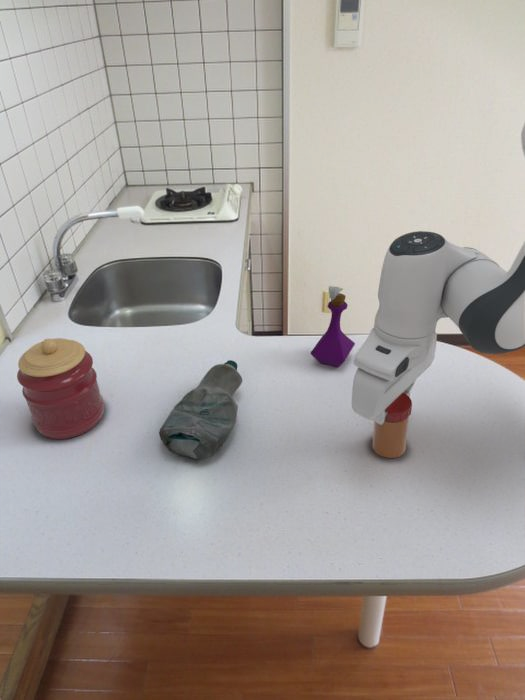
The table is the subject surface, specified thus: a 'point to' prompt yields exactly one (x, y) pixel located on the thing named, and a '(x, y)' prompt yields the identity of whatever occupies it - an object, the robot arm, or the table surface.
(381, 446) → the jam jar
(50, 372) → the kitchen canister
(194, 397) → the crushed plastic bottle
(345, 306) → the purple potion bottle
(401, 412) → the jar lid
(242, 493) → the table surface
